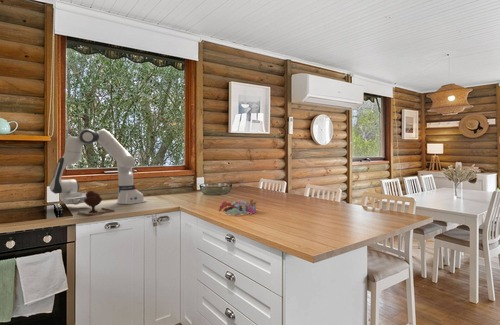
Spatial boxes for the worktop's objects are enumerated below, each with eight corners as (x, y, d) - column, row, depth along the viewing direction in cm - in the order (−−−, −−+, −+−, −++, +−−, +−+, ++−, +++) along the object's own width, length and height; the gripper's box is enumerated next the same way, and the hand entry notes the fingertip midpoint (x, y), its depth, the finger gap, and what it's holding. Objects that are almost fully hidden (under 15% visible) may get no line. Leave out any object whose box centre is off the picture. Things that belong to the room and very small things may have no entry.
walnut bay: (102, 209, 218) (102, 207, 218) (114, 211, 211) (114, 209, 211) (77, 213, 203) (77, 212, 203) (88, 216, 196) (88, 214, 196)
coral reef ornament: (232, 207, 225) (232, 195, 224) (261, 210, 215) (261, 197, 214) (214, 214, 202) (214, 201, 201) (246, 218, 192) (246, 203, 191)
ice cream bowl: (95, 214, 201) (94, 192, 201) (80, 213, 204) (79, 191, 203) (105, 211, 212) (105, 189, 211) (91, 210, 214) (91, 189, 213)
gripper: (59, 196, 213) (69, 198, 205) (88, 192, 230) (98, 193, 223) (60, 205, 213) (70, 207, 206) (88, 200, 230) (99, 202, 223)
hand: (85, 200), depth 214 cm, fingers open, 8 cm apart
